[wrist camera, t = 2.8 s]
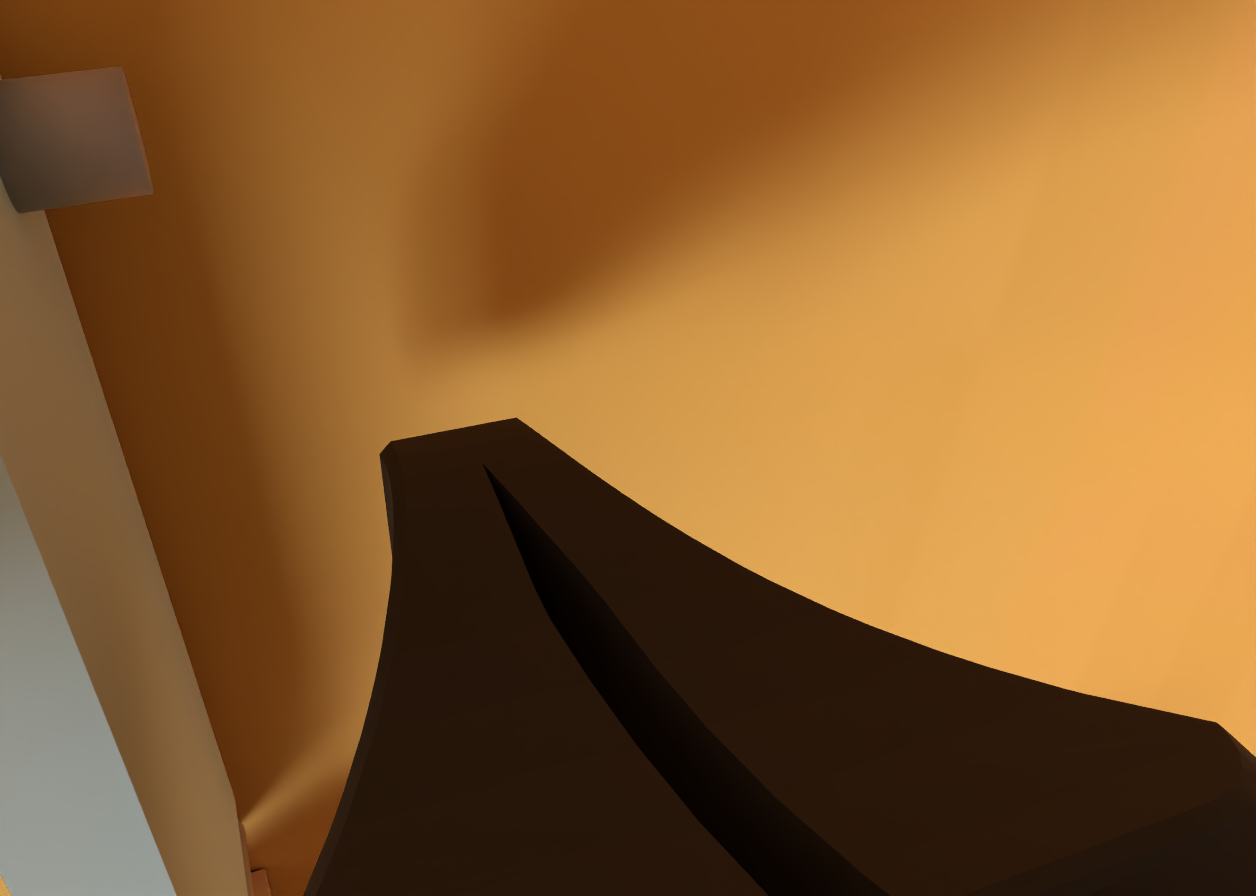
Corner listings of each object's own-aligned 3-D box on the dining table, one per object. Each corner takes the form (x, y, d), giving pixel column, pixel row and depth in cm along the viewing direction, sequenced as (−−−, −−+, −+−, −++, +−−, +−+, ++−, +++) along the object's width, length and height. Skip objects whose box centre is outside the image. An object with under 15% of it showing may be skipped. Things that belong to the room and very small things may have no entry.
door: (325, 827, 16) (398, 1175, 12) (175, 874, 15) (204, 1256, 12) (95, -56, 9) (101, 117, 6) (-182, -34, 9) (-375, 175, 5)
